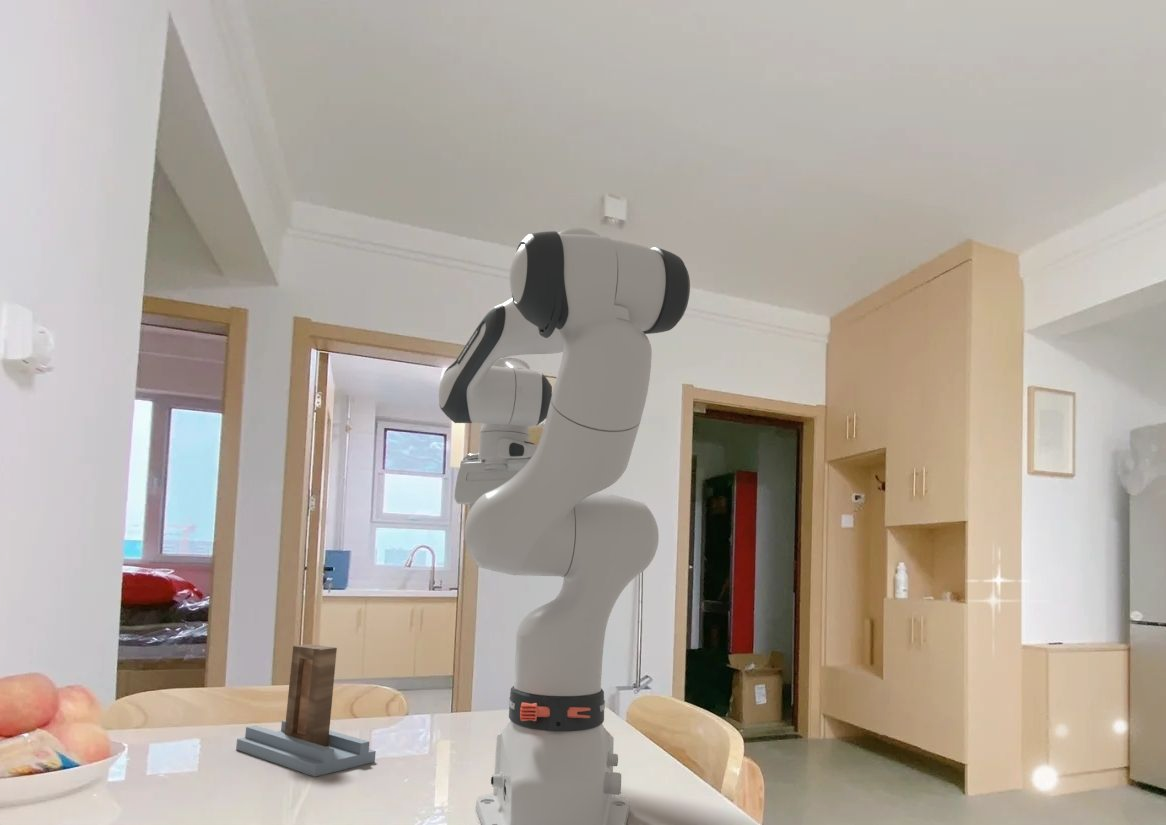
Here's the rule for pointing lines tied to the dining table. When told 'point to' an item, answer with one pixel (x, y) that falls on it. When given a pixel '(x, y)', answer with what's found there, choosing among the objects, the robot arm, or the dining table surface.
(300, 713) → the frame
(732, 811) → the dining table surface
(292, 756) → the picture stand
